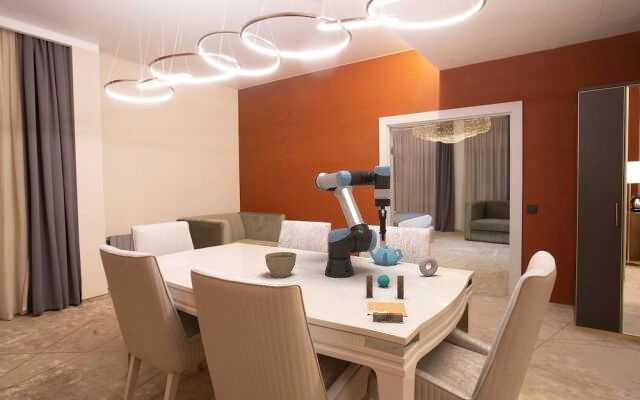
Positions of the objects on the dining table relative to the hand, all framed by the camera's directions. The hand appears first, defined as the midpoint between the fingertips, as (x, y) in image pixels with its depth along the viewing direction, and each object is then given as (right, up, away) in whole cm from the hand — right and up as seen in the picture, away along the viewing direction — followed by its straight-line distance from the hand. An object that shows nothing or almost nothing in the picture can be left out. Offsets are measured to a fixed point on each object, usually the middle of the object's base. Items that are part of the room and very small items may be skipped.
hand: (382, 246), depth 176 cm
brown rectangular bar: (-7, -19, -50) cm, 54 cm away
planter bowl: (-50, -17, +14) cm, 55 cm away
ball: (-1, -15, -9) cm, 17 cm away
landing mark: (-5, -19, -38) cm, 43 cm away
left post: (-10, -18, -24) cm, 31 cm away
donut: (+25, -16, +9) cm, 31 cm away
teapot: (+8, -15, +39) cm, 43 cm away
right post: (+3, -18, -25) cm, 31 cm away
